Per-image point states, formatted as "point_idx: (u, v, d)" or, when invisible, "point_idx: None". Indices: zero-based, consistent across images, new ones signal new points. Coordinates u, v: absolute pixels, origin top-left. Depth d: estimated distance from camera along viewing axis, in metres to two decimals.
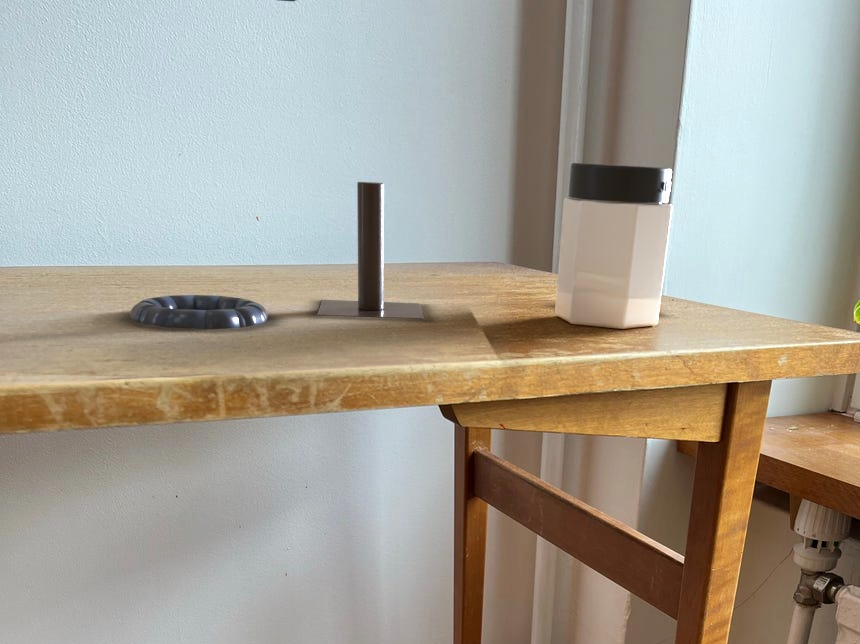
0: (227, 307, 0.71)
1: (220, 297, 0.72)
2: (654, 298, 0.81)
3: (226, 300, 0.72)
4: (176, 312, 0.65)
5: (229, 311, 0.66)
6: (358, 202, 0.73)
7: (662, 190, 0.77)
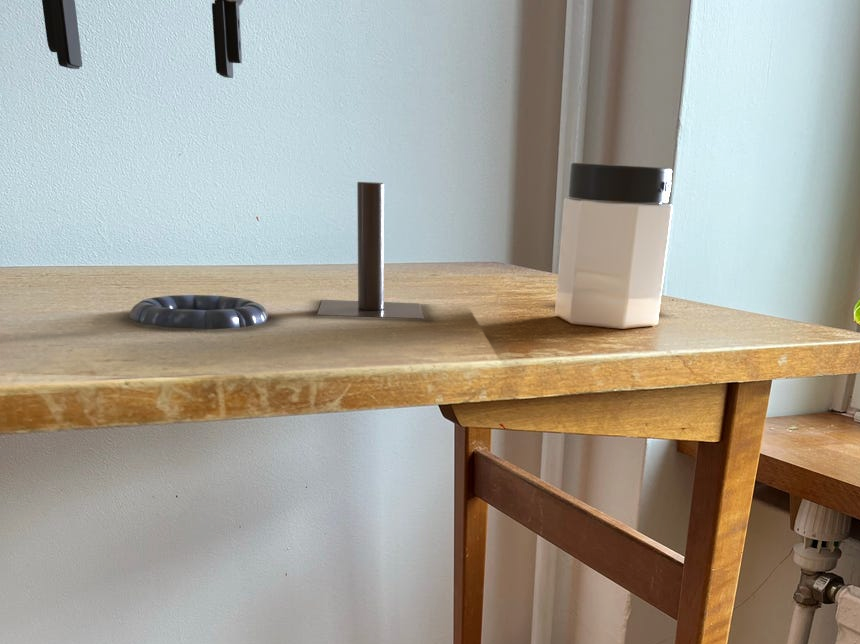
0: (227, 307, 0.71)
1: (220, 297, 0.72)
2: (654, 298, 0.81)
3: (226, 300, 0.72)
4: (176, 312, 0.65)
5: (229, 311, 0.66)
6: (358, 202, 0.73)
7: (662, 190, 0.77)
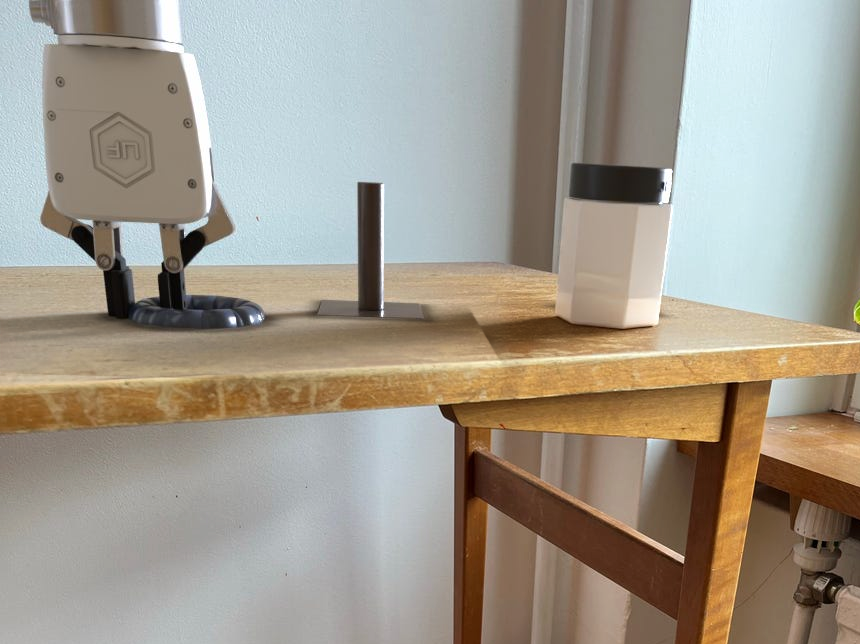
0: (224, 307, 0.71)
1: (217, 297, 0.72)
2: (654, 298, 0.81)
3: (223, 300, 0.72)
4: (173, 312, 0.65)
5: (226, 311, 0.66)
6: (358, 202, 0.73)
7: (662, 190, 0.77)
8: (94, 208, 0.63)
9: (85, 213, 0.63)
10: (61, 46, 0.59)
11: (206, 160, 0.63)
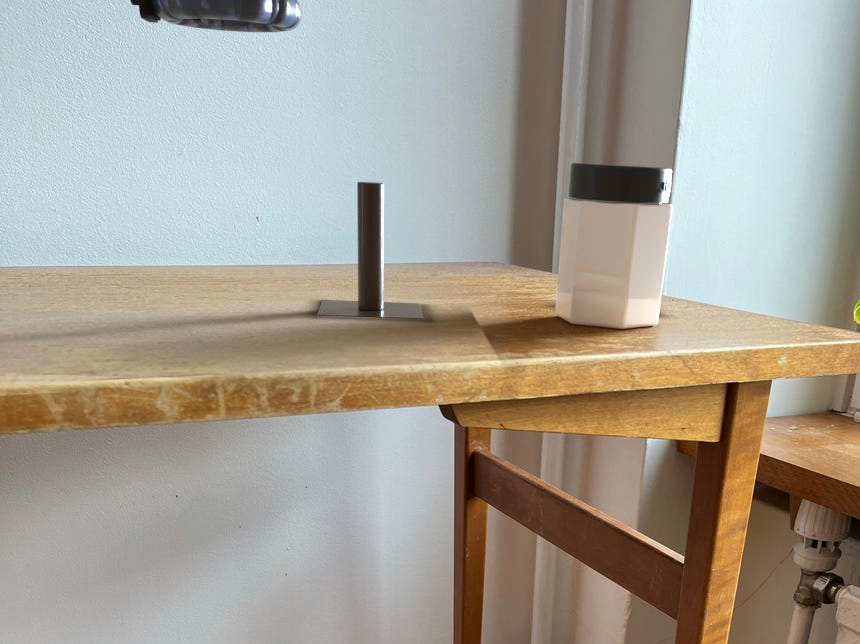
0: None
1: None
2: (654, 298, 0.81)
3: None
4: None
5: None
6: (358, 202, 0.73)
7: (662, 190, 0.77)
8: None
9: None
10: None
11: None
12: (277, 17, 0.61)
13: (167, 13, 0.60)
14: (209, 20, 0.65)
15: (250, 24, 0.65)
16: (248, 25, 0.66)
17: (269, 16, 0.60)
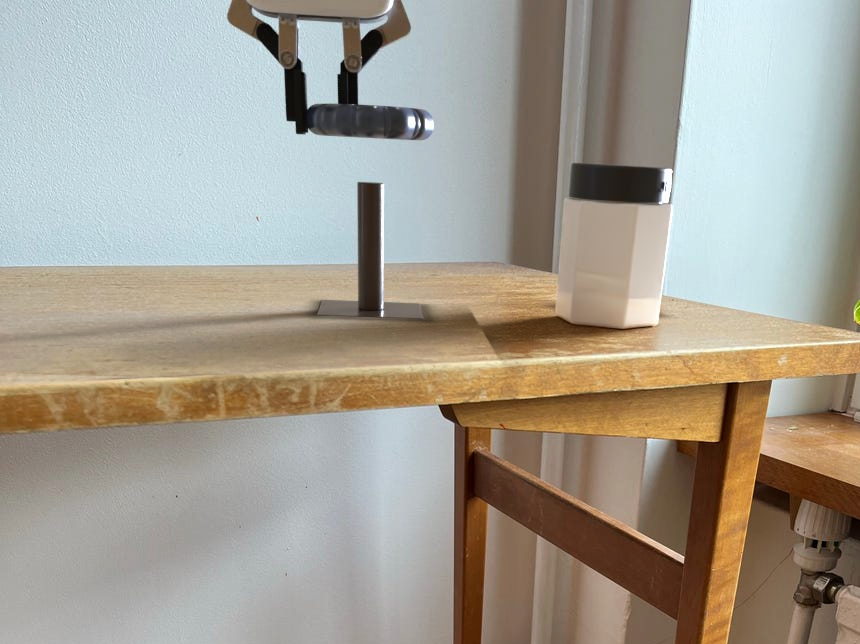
0: None
1: None
2: (654, 298, 0.81)
3: None
4: (357, 106, 0.67)
5: (405, 108, 0.68)
6: (358, 202, 0.73)
7: (662, 190, 0.77)
8: None
9: (275, 3, 0.65)
10: None
11: None
12: (418, 134, 0.69)
13: (321, 131, 0.69)
14: None
15: None
16: None
17: (411, 134, 0.69)
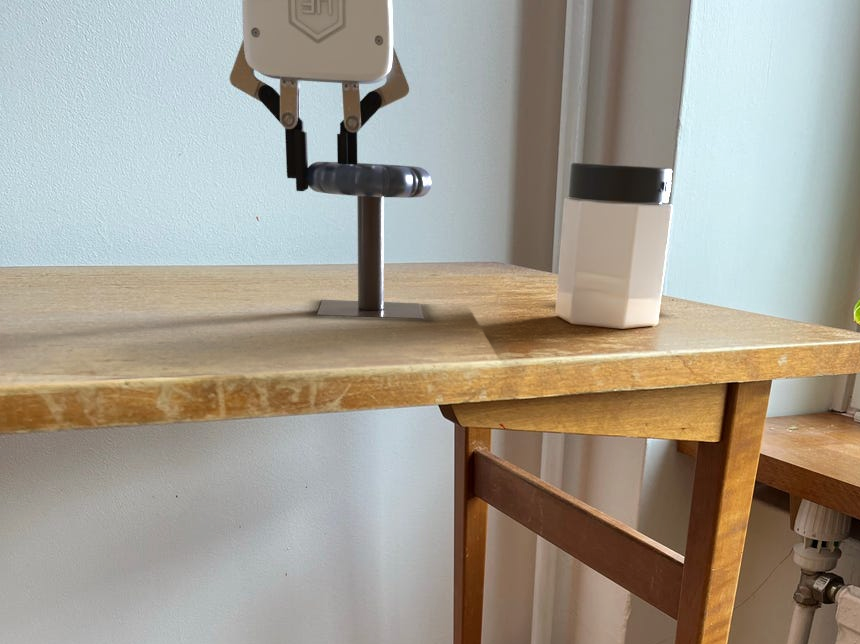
0: None
1: (382, 165, 0.75)
2: (654, 298, 0.81)
3: None
4: (356, 166, 0.69)
5: (403, 168, 0.70)
6: (358, 202, 0.73)
7: (662, 190, 0.77)
8: (286, 63, 0.67)
9: (277, 68, 0.67)
10: None
11: (392, 18, 0.67)
12: (415, 192, 0.71)
13: (321, 190, 0.70)
14: None
15: None
16: None
17: (409, 193, 0.70)
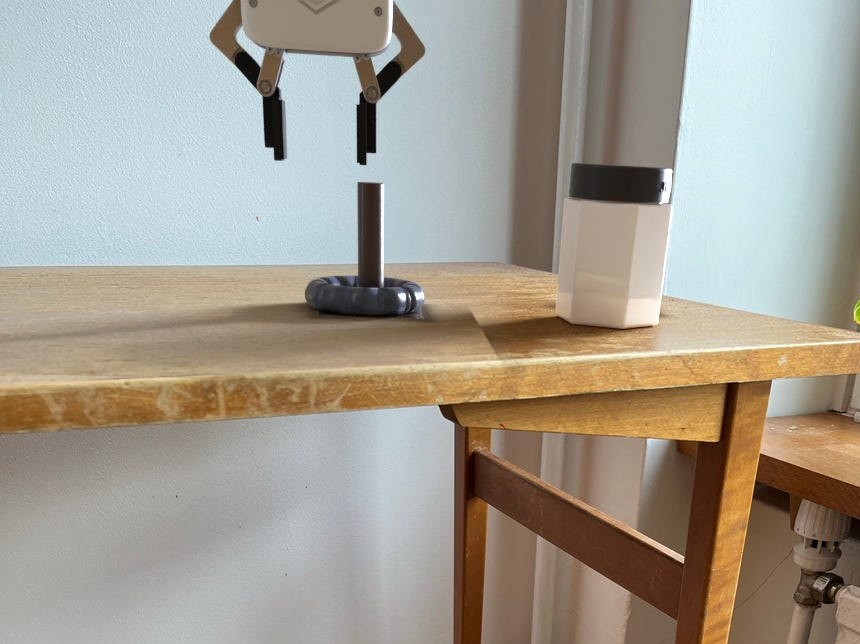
0: (385, 286, 0.78)
1: None
2: (654, 298, 0.81)
3: (384, 280, 0.79)
4: (352, 289, 0.72)
5: (397, 289, 0.73)
6: (358, 202, 0.73)
7: (662, 190, 0.77)
8: (284, 34, 0.66)
9: (275, 39, 0.66)
10: None
11: None
12: (409, 310, 0.75)
13: (319, 308, 0.74)
14: None
15: None
16: None
17: (403, 311, 0.74)
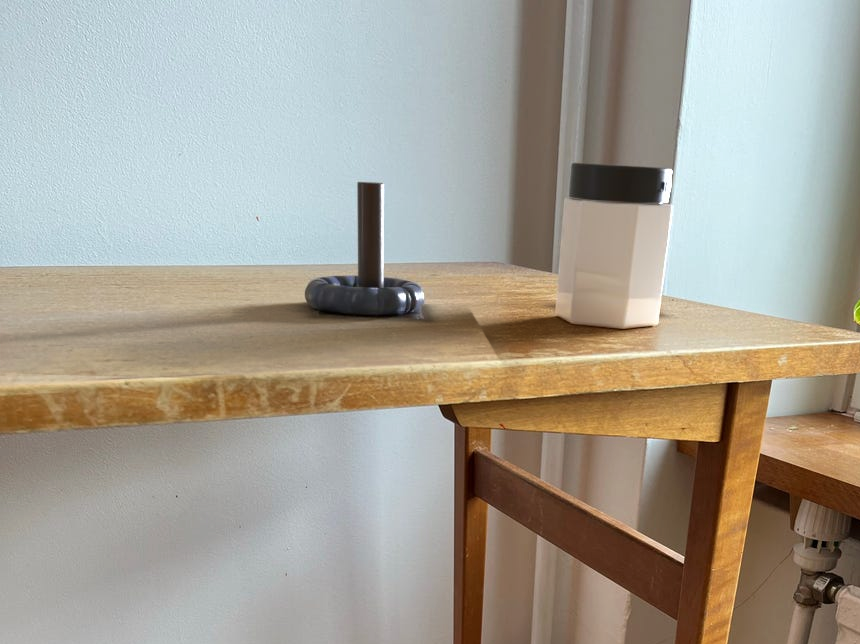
0: (385, 286, 0.78)
1: None
2: (654, 298, 0.81)
3: (384, 280, 0.79)
4: (352, 289, 0.72)
5: (397, 289, 0.73)
6: (358, 202, 0.73)
7: (662, 190, 0.77)
8: None
9: None
10: None
11: None
12: (409, 310, 0.75)
13: (319, 308, 0.74)
14: None
15: None
16: None
17: (403, 311, 0.74)
